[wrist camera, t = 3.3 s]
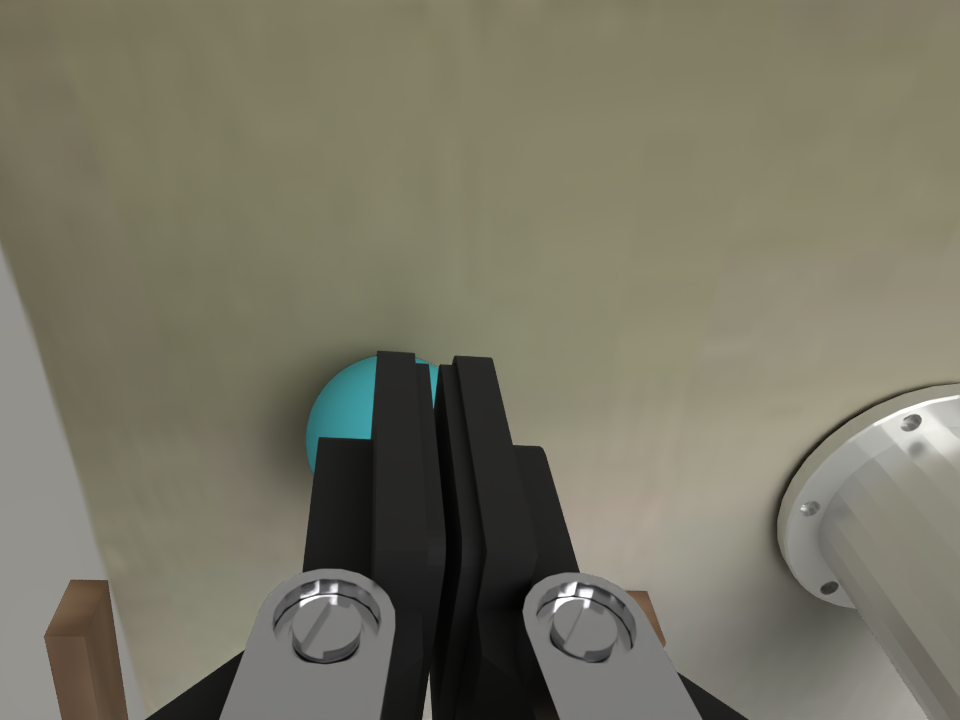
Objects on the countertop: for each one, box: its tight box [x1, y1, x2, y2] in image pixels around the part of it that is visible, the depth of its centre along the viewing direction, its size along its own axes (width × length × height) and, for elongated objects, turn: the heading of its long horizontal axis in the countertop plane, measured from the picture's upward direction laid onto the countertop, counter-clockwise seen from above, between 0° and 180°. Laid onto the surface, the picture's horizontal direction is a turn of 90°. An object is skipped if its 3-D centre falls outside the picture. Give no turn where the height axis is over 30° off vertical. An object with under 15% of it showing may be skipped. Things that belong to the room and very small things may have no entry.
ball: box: [306, 356, 439, 475], centre depth 28 cm, size 6×6×6 cm
